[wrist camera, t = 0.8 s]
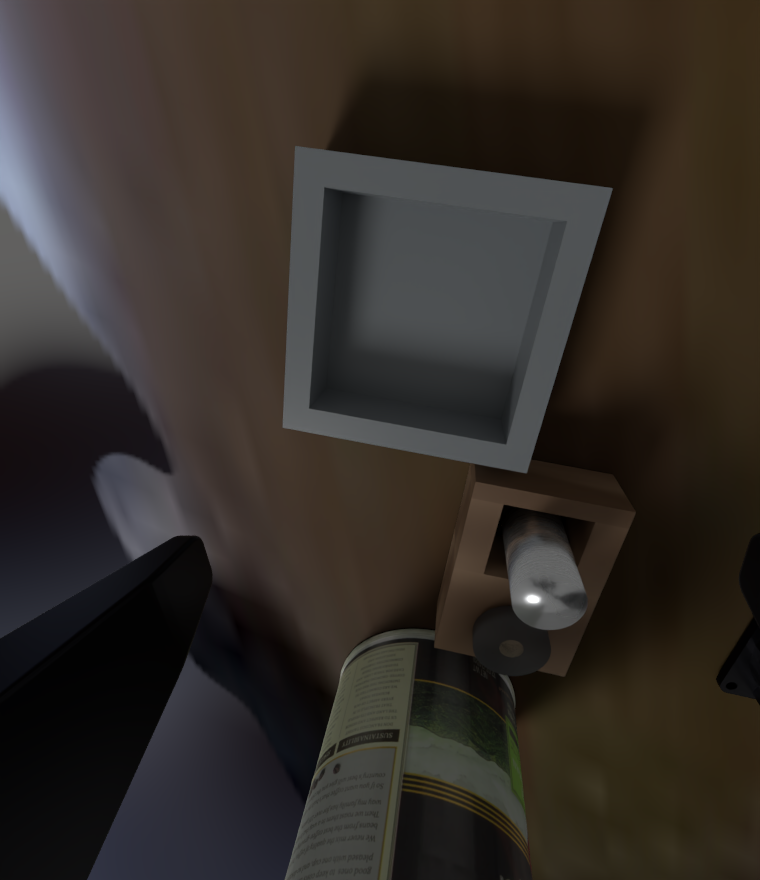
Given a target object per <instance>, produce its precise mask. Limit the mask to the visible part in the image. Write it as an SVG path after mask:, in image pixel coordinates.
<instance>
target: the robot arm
mask: <svg viewBox="0 0 760 880" xmlns="http://www.w3.org/2000/svg"><path fill="white" fill-rule="evenodd" d="M211 584H212V569H211V566H210V563H209V560H208V556H207V553H206V550H205V547H204V544H203V541H202V540H201V538H200V537H198V536H175V537H173V538H171V539H170V540H168V541H166V542H165V543H163V544H161V545H159V546H158V547H156V548H154V549H153V550H151V551H149V552H147V553H146V554H144V555H142V556H141V557H139V558H137V559H135V560H134V561H132V562H130V563H129V564H127V565H125V566H123V567H122V568H120V569H119V570H117V571H115V572H113V573H112V574H110V575H108V576H106V577H105V578H103V579H101V580H100V581H98V582H96V583H94V584H93V585H91V586H90V587H88V588H86V589H84V590H82V591H81V592H79V593H77V594H76V595H74V596H72V597H70V598H69V599H67V600H65V601H64V602H62V603H60V604H59V605H57V606H55V607H53V608H52V609H50V610H48V611H46V612H45V613H43V614H41V615H40V616H38V617H36V618H34V619H33V620H31V621H29V622H28V623H26V624H24V625H22V626H21V627H19V628H17V629H16V630H14V631H12V632H11V633H9V634H7V635H5V636H4V637H2V638H0V880H87V878H88V876H89V874H90V872H91V870H92V867H93V865H94V863H95V861H96V859H97V856H98V854H99V852H100V850H101V847H102V845H103V843H104V841H105V839H106V836H107V834H108V832H109V830H110V828H111V825H112V823H113V821H114V819H115V817H116V814H117V812H118V810H119V808H120V806H121V803H122V801H123V799H124V797H125V794H126V792H127V790H128V788H129V786H130V784H131V781H132V779H133V777H134V774H135V772H136V770H137V768H138V766H139V764H140V761H141V759H142V757H143V755H144V753H145V750H146V748H147V746H148V744H149V742H150V739H151V737H152V735H153V733H154V730H155V728H156V726H157V724H158V722H159V719H160V717H161V715H162V713H163V711H164V709H165V706H166V704H167V702H168V699H169V697H170V695H171V693H172V691H173V689H174V687H175V684H176V682H177V680H178V678H179V675H180V673H181V671H182V668H183V666H184V663H185V661H186V658H187V655H188V653H189V650H190V647H191V644H192V641H193V638H194V635H195V632H196V629H197V626H198V623H199V620H200V617H201V614H202V611H203V608H204V605H205V602H206V599H207V596H208V593H209V590H210V587H211ZM739 584H740V588H741V591H742V593H743V595H744V597H745V599H746V601H747V603H748V605H749V607H750V609H751V612H752V614H753V616H754V619H753V621H752V623H751V624H750V626H749V627H748V629H747V630H746V632H745V634H744V635H743V637H742V638H741V640H740V641H739V643H738V645H737V646H736V648H735V649H734V651H733V652H732V654H731V656H730V657H729V659H728V660H727V662H726V663H725V665H724V666H723V668H722V670H721V671H720V673H719V674H718V676H717V678H716V680H717V683H718V685H719V687H720V688H721V690H722V691H724V692H726V693H730V694H735V695H739V696H744V697H749V698H753V699H756V700H757V702H758V703H759V705H760V533H758V534H756V535H754V536H753V537H752V538H751V540H750V542H749V545H748V548H747V551H746V554H745V557H744V561H743V564H742V567H741V570H740V574H739Z"/></svg>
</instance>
